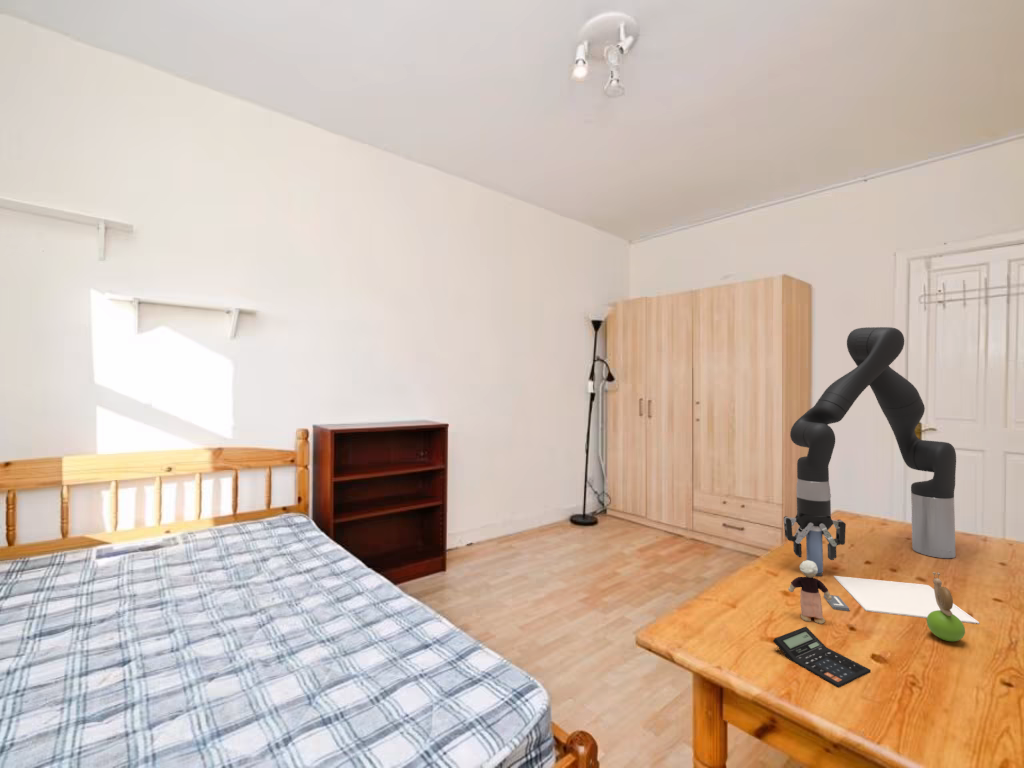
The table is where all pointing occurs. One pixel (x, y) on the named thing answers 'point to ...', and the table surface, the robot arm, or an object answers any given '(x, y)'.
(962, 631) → the snail figurine
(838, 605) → the letter card
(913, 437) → the robot arm
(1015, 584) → the table surface
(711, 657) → the table surface
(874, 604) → the paper
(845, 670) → the calculator
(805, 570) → the grandmother figurine
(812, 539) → the grey-blue cylinder
